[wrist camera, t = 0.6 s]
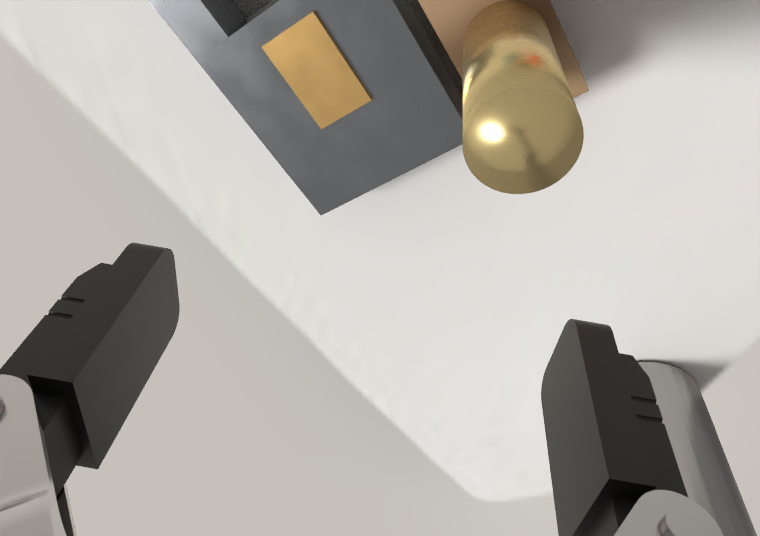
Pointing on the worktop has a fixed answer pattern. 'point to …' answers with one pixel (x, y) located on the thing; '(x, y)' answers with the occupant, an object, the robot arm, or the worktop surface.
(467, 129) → the brass peg
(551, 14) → the brown rectangular block
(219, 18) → the flange plate
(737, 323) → the worktop surface
